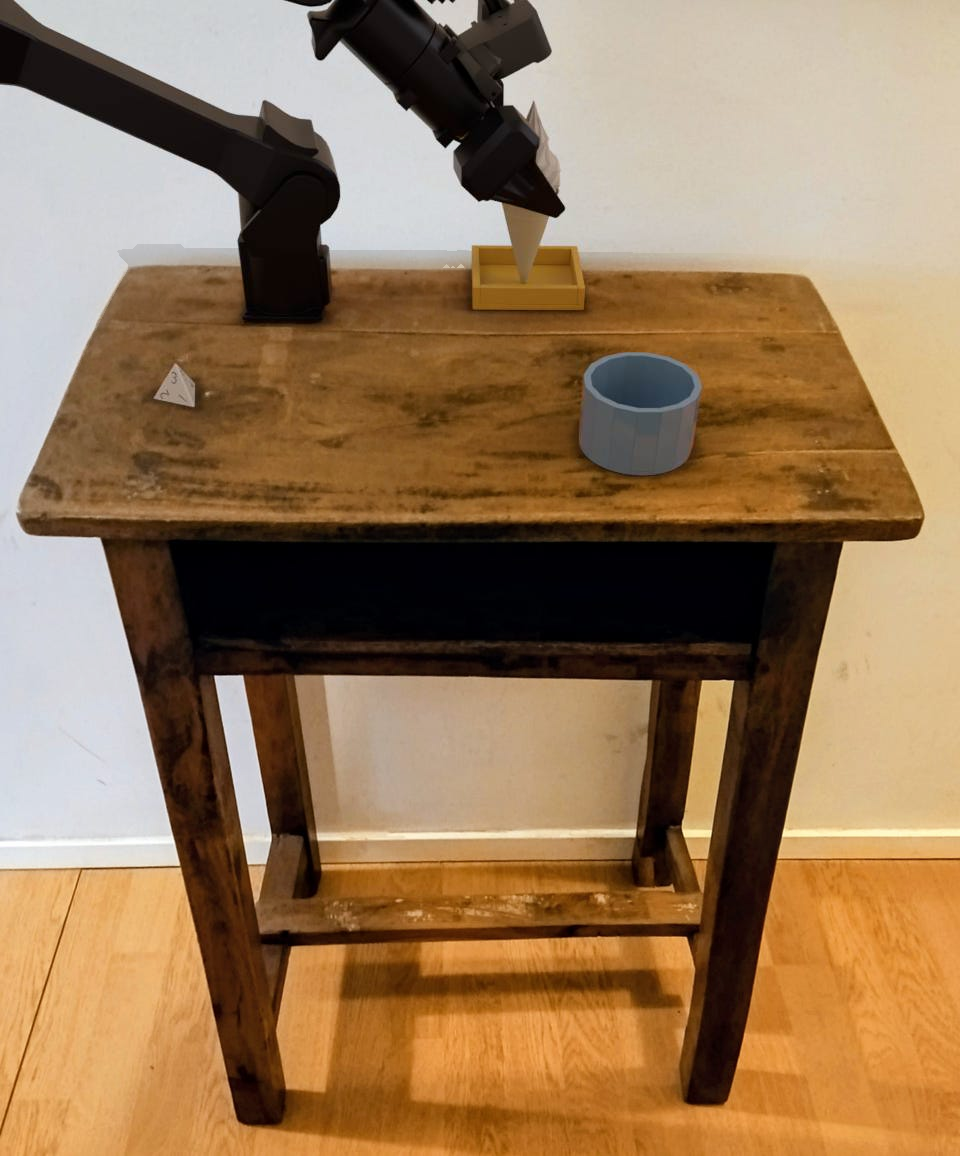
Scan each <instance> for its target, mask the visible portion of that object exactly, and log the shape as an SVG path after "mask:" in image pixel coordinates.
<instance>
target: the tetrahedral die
mask: <svg viewBox="0 0 960 1156" xmlns="http://www.w3.org/2000/svg"><path fill="white" fill-rule="evenodd" d="M153 399H154V400H157V401H164V402H167V403H168V402H169V403H172V404H178V405H182V406H186V407H192V408H195V406H196V383H195V382H194V381H193V380H192V378H190V377H189V376H188V375H187V373H186V372H185V371H184V370H183V369H182V368H181V367H180V365H178V364H177V363H173V366H172V367H171V369H170V371H169V373H168V374H167V375H166V377H165V379H164V380H163V382H162V383H161V386H160V387H159V389H158V390H157V391H156V394H155V395H154V397H153Z"/></svg>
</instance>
